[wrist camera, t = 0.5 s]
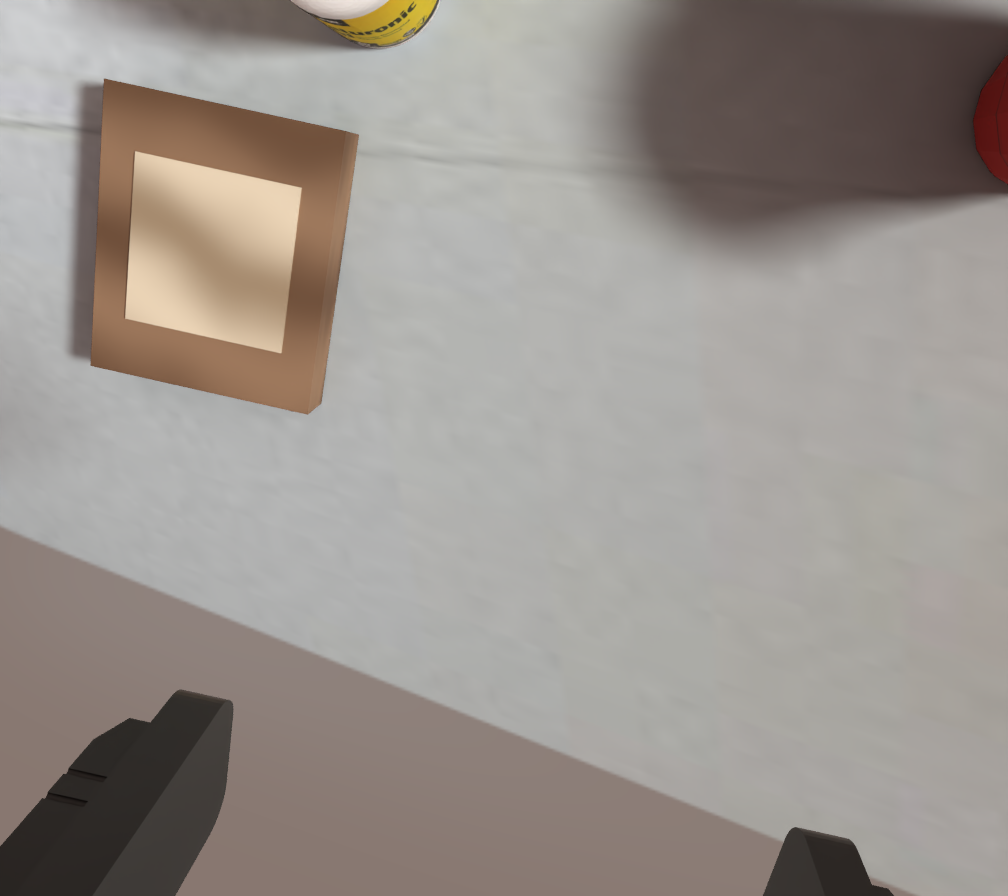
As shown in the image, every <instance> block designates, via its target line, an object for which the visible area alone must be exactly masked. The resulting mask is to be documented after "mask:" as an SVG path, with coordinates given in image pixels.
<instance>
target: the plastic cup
mask: <svg viewBox="0 0 1008 896" xmlns="http://www.w3.org/2000/svg"><path fill="white" fill-rule="evenodd" d="M973 124H974V133H975V142H976V149H977V151H978V153H979V154H980V156H981V158H982V159H983V161H984V162H985V164H986V166H987V167H988V169H989V171H990V172H991V173H993V175H994V176H995V177H997V178H999V179H1000V180H1002V181H1003V182H1005V183H1007V184H1008V55H1007V56H1006V57H1005V58H1004V59H1003V61H1002V62H1001V63H1000V64H999V66H998V67H997V69H996V70H995V72H994V73H993V75H992V76H991V77H990V79H989V80H988V82H987V83H986V85H985V86H984V87H983V89H982V90H981V94H980V97H979V101H978V105H977V108H976V112H975V116H974V119H973Z"/></svg>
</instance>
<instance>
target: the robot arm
mask: <svg viewBox="0 0 1008 896" xmlns="http://www.w3.org/2000/svg"><path fill="white" fill-rule="evenodd" d="M232 720H233V703H232V702H231V701H230V700H226V699H222V698H217V697H212V696H208V695H203V694H199V693H195V692H190V691H186V690H178V691H177V692H175V693H174V694H173V695H172V696H171V698H170V699H169V700H168V701H167V702H166V704H165V705H164V706H163V707H162V709H161V710H160V711H159V713H158V714H157V715H156V716H155V718H154V719H153V720H152V721H151V723H149V722H145V721H140V720H136V719H131V718H129V719H127V720H125V721H124V722H122V723H120V724H119V725H117V726H115V727H114V728H112V729H110V730H109V731H107V732H105V733H104V734H102V735H101V736H98V737H97V738H95V739H94V740H93V741H92V742H91V743H90V744H89V745H88V747H87V748H86V749H85V750H84V751H83V752H82V754H80V756H79V757H78V758H77V759H76V760H75V761H74V763H73V764H72V765H71V766H70V767H69V769H68V772H67V774H63V775H62V776H61V777H60V779H59V780H58V781H57V782H56V783H55V784H54V785H53V787H52V788H51V789H50V790H49V791H48V794H47V796H46V798H45V799H43V798H42V799H41V800H40V802H39V803H38V804H37V805H36V806H35V807H34V809H33V810H32V811H31V812H30V813H29V814H28V815H27V816H26V818H25V819H24V820H23V821H22V822H21V823H20V825H19V826H18V827H17V828H16V829H15V830H14V831H13V833H12V834H11V835H10V836H9V837H8V838H7V839H6V841H5V842H4V843H3V844H2V845H1V846H0V896H175V895H176V893H177V892H178V890H179V888H180V886H181V884H182V883H183V881H184V879H185V877H186V876H187V874H188V872H189V870H190V869H191V867H192V865H193V863H194V862H195V860H196V858H197V856H198V855H199V853H200V851H201V849H202V847H203V846H204V844H205V842H206V840H207V839H208V837H209V835H210V833H211V831H212V829H213V827H214V825H215V822H216V820H217V818H218V814H219V812H220V809H221V805H222V802H223V799H224V795H225V790H226V782H227V772H228V762H229V752H230V740H231V731H232ZM763 896H894V895H893V894H892V893H891V892H890V890H889V889H887V888H883V887H878V886H874V885H872V884H871V882H870V879H869V877H868V875H867V872H866V870H865V867H864V865H863V862H862V860H861V858H860V855H859V853H858V850H857V848H856V846H855V845H854V843H853V842H852V841H851V840H849V839H847V838H842V837H838V836H833V835H829V834H824V833H820V832H815V831H811V830H806V829H802V828H797V827H795V828H792V829H791V830H790V831H789V833H788V834H787V836H786V838H785V841H784V843H783V846H782V848H781V851H780V853H779V856H778V858H777V861H776V864H775V866H774V869H773V871H772V874H771V876H770V879H769V881H768V884H767V887H766V889H765V892H764V894H763Z"/></svg>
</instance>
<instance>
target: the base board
mask: <svg viewBox="0 0 1008 896" xmlns="http://www.w3.org/2000/svg"><path fill="white" fill-rule="evenodd" d="M358 137H359V135H357V134H354V133H350V132H347V131H342V130H338V129H333V128H328V127H324V126H319V125H315V124H310V123H305V122H301V121H296V120H292V119H287V118H283V117H278V116H273V115H269V114H264V113H260V112H255V111H250V110H246V109H241V108H237V107H232V106H227V105H223V104H218V103H214V102H209V101H205V100H200V99H195V98H191V97H186V96H182V95H177V94H172V93H168V92H163V91H159V90H154V89H149V88H145V87H140V86H136V85H131V84H126V83H122V82H117V81H113V80H108V79H104V91H103V112H102V134H101V155H100V177H99V198H98V219H97V241H96V262H95V284H94V305H93V326H92V348H91V366H94V367H99V368H103V369H108V370H112V371H117V372H121V373H126V374H130V375H134V376H139V377H143V378H148V379H152V380H157V381H161V382H166V383H170V384H174V385H179V386H183V387H188V388H192V389H197V390H201V391H206V392H210V393H215V394H219V395H223V396H228V397H232V398H237V399H241V400H246V401H250V402H255V403H259V404H263V405H268V406H272V407H277V408H281V409H286V410H290V411H295V412H299V413H303V414H309V413H310V412H311V411H312V410H314V409H315V408H316V407H317V406H319V405H320V404H321V401H322V394H323V387H324V380H325V372H326V365H327V358H328V351H329V344H330V337H331V330H332V323H333V316H334V308H335V301H336V294H337V287H338V280H339V273H340V266H341V259H342V251H343V244H344V237H345V230H346V223H347V216H348V209H349V202H350V194H351V187H352V180H353V173H354V166H355V159H356V152H357V145H358Z"/></svg>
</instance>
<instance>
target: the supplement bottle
mask: <svg viewBox="0 0 1008 896" xmlns="http://www.w3.org/2000/svg"><path fill="white" fill-rule="evenodd" d="M290 1H292V2H293V3H294V4H296V5H297V6H298V7H299V8H301V9H302V10H304V11H305V12H307V13H308V14H310V15H312V16H313V17H315V18H316V19H318V20H319V21H321V22H322V23H323V24H325V25H326V26H328V27H329V28H331V29H332V30H334V31H336V32H337V33H338V34H340V35H341V36H343V37H344V38H346V39H348V40H350V41H352V42H354V43H357V44H359V45H362V46H366V47H371V48H391V47H396V46H399V45H401V44H404V43H406V42H408V41H410V40H411V39H413V38H414V37H416V36H417V35H418V34H420V33H421V32H422V31H423V30H424V29H425V28H426V27H427V25H428V24H429V23H430V21H431V20H432V18H433V17H434V15H435V13H436V11H437V9H438V7H439V4H440V1H441V0H290Z"/></svg>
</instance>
